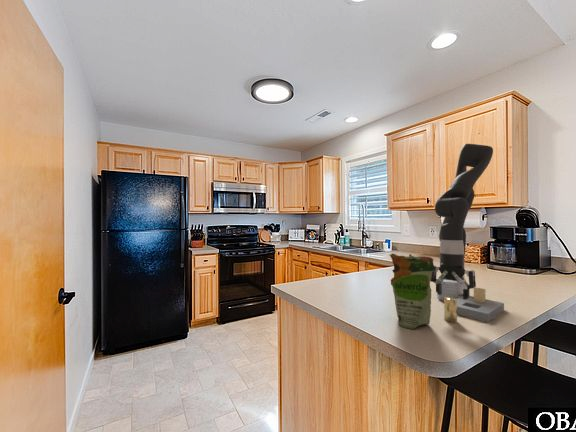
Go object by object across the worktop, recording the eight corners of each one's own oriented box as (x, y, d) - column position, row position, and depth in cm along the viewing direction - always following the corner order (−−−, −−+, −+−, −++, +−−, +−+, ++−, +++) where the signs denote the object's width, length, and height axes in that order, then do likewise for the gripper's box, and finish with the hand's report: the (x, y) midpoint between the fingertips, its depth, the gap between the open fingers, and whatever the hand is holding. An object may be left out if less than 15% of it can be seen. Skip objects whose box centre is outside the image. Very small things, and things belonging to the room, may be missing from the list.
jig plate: (446, 311, 107) (446, 291, 107) (464, 301, 120) (464, 283, 120) (488, 322, 96) (488, 300, 96) (504, 310, 108) (504, 290, 109)
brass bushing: (442, 320, 98) (442, 298, 98) (446, 317, 100) (446, 296, 101) (454, 323, 95) (454, 301, 95) (458, 320, 97) (458, 299, 97)
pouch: (437, 329, 90) (437, 255, 90) (406, 332, 87) (406, 256, 87) (415, 317, 101) (415, 251, 101) (387, 320, 98) (387, 252, 98)
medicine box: (456, 299, 123) (456, 280, 123) (458, 302, 119) (458, 282, 119) (436, 297, 126) (436, 279, 126) (438, 300, 122) (438, 281, 122)
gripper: (478, 253, 94) (478, 299, 94) (435, 249, 105) (435, 291, 105) (470, 255, 90) (471, 303, 89) (426, 251, 101) (427, 294, 101)
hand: (452, 296), depth 97 cm, fingers open, 8 cm apart
